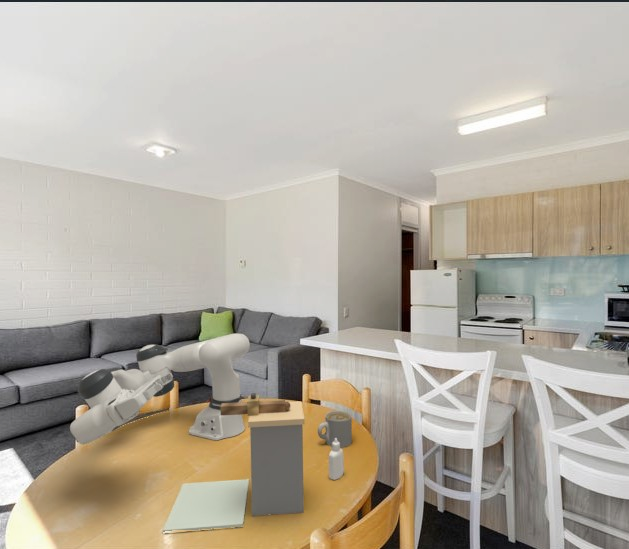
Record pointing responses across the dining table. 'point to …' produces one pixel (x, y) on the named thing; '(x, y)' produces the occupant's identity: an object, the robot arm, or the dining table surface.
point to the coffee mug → (337, 428)
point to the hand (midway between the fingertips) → (166, 380)
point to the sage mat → (209, 505)
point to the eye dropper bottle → (336, 461)
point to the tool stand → (277, 461)
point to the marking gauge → (254, 406)
